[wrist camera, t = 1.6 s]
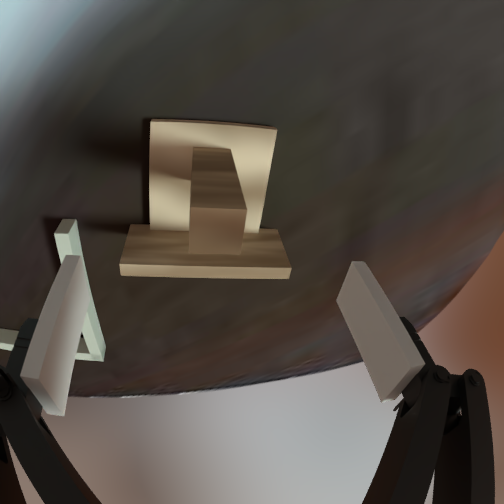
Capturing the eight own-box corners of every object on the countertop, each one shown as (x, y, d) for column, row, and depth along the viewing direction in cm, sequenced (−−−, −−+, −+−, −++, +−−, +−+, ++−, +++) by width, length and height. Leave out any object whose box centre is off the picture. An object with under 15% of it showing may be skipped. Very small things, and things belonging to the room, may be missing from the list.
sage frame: (-74, 220, 23) (-85, 232, 21) (76, 219, 27) (68, 233, 25) (-25, 330, 34) (-30, 342, 32) (105, 346, 39) (103, 361, 37)
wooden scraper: (128, 118, 23) (86, 170, 14) (297, 129, 26) (349, 185, 17) (131, 234, 30) (111, 321, 21) (274, 238, 32) (303, 322, 24)
